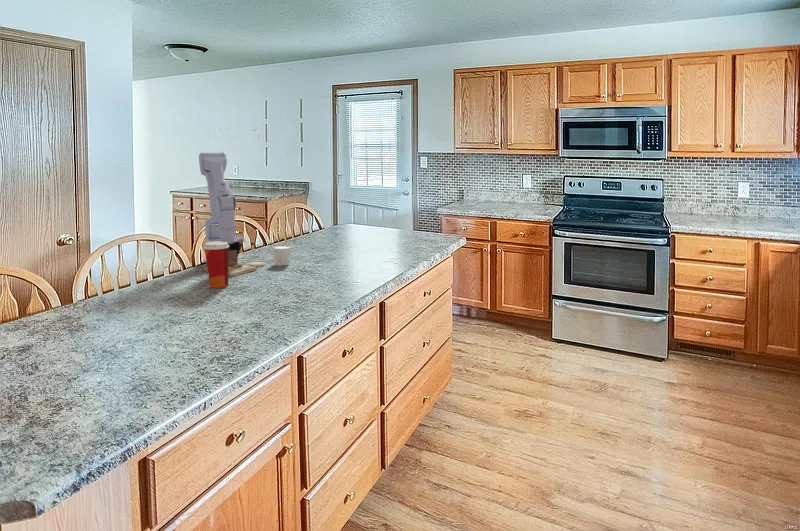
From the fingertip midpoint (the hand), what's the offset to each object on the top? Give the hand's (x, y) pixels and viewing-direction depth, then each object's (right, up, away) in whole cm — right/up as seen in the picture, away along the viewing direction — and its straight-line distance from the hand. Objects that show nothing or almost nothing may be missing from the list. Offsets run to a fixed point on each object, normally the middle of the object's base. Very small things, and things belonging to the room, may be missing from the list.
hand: (229, 263), depth 217 cm
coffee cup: (+3, -8, -23) cm, 24 cm away
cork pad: (+7, -1, +10) cm, 12 cm away
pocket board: (0, -3, +1) cm, 3 cm away
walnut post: (0, -3, +1) cm, 3 cm away
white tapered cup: (+17, -1, +12) cm, 21 cm away
